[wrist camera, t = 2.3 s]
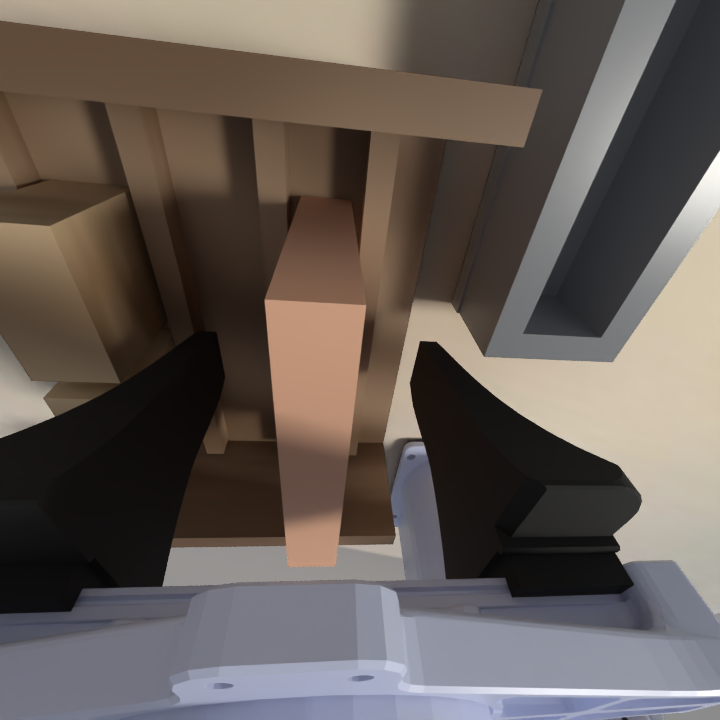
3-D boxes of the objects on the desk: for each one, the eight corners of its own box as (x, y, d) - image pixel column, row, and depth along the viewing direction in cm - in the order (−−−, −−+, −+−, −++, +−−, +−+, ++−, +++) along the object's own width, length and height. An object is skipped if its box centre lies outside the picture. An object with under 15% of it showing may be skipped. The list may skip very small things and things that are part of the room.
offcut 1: (172, 314, 13) (120, 383, 10) (106, 311, 13) (31, 380, 10) (136, 186, 10) (49, 226, 7) (51, 179, 10) (-77, 216, 7)
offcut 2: (198, 408, 16) (165, 483, 13) (145, 407, 16) (99, 483, 13) (176, 329, 14) (128, 400, 10) (112, 326, 13) (43, 397, 10)
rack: (379, 437, 20) (392, 544, 15) (145, 433, 19) (80, 548, 14) (447, 92, 10) (542, 89, 5) (-32, 34, 9) (-449, -36, 4)
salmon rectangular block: (335, 413, 17) (335, 566, 12) (303, 413, 17) (288, 566, 11) (351, 200, 11) (366, 304, 5) (301, 195, 11) (264, 299, 5)
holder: (560, 309, 15) (614, 362, 12) (451, 303, 15) (481, 356, 12) (881, -318, 7) (1329, -659, 4) (650, -384, 6) (948, -842, 3)
